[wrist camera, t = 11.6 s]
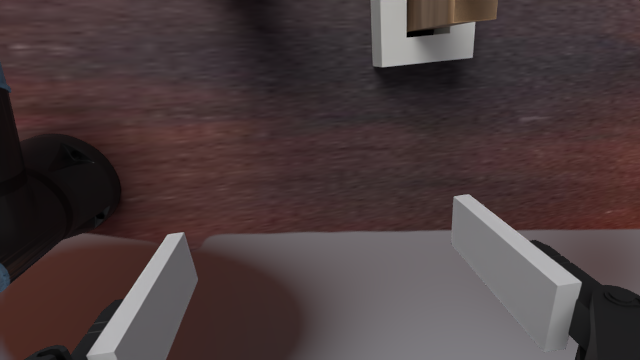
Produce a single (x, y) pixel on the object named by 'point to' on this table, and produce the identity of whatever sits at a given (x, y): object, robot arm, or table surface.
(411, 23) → the bronze peg
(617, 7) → the table surface
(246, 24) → the table surface
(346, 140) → the table surface
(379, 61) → the socket block
